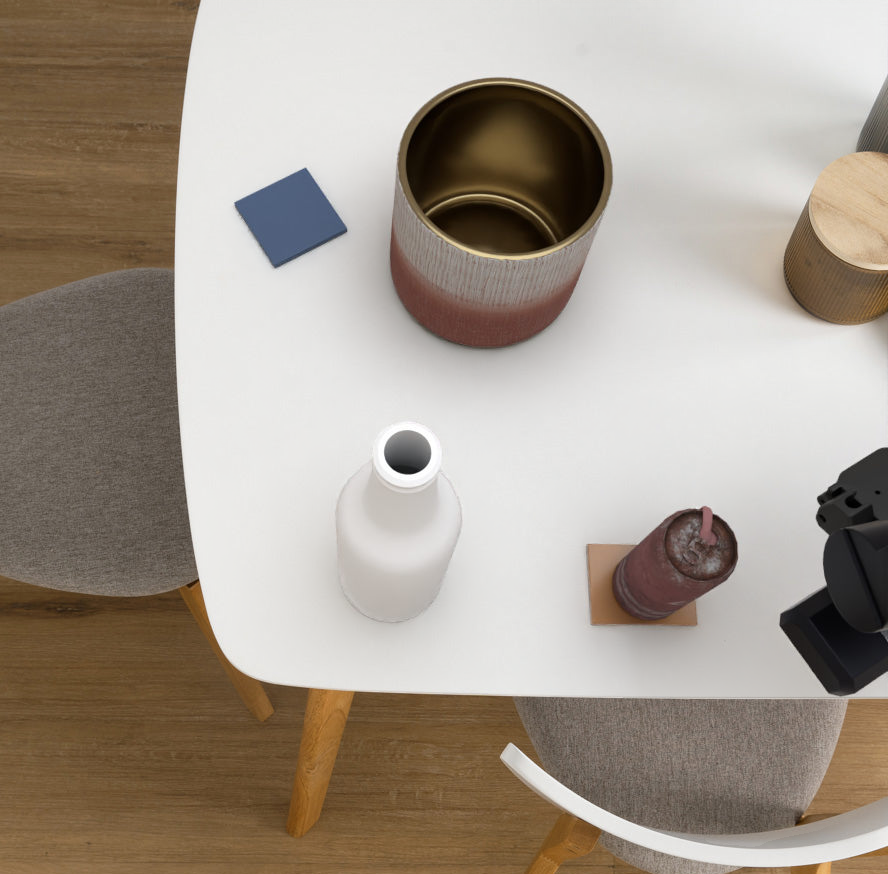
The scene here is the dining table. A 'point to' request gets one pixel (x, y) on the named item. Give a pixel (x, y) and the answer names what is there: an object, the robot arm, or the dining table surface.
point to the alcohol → (397, 525)
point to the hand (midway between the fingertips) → (858, 607)
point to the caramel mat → (603, 596)
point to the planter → (496, 209)
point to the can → (676, 564)
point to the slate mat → (290, 217)
